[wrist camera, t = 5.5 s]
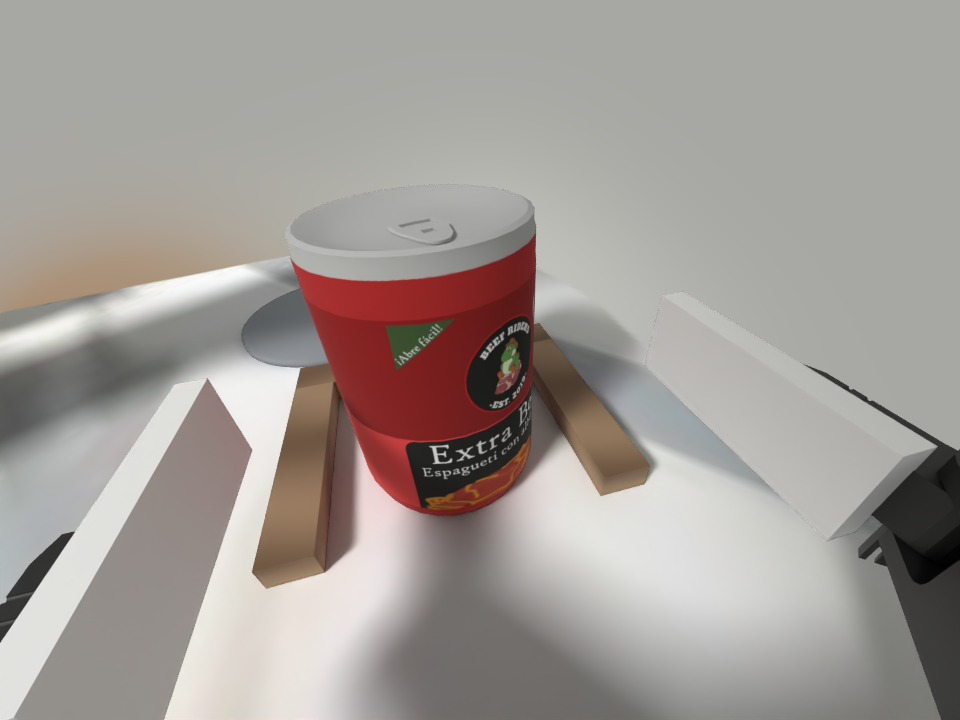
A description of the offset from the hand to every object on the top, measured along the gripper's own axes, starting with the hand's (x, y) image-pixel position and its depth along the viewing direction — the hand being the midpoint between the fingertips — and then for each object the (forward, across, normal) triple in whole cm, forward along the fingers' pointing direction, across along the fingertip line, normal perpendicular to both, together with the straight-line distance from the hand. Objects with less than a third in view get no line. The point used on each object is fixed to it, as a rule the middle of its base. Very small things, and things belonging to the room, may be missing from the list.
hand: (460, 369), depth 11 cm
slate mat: (+19, -7, -7) cm, 22 cm away
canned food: (+4, 0, -7) cm, 8 cm away
